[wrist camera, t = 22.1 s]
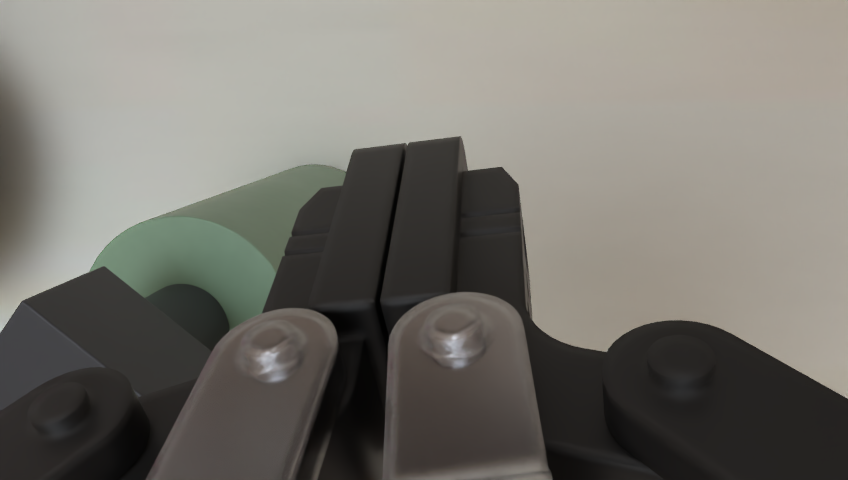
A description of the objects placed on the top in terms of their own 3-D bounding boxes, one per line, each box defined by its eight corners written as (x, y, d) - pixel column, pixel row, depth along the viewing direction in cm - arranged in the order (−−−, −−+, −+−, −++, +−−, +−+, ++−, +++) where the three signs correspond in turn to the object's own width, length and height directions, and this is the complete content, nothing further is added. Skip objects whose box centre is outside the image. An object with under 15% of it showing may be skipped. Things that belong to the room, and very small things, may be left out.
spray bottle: (443, 248, 36) (330, 455, 16) (357, 352, 37) (158, 658, 17) (302, 135, 35) (14, 202, 16) (222, 244, 37) (-133, 429, 17)
